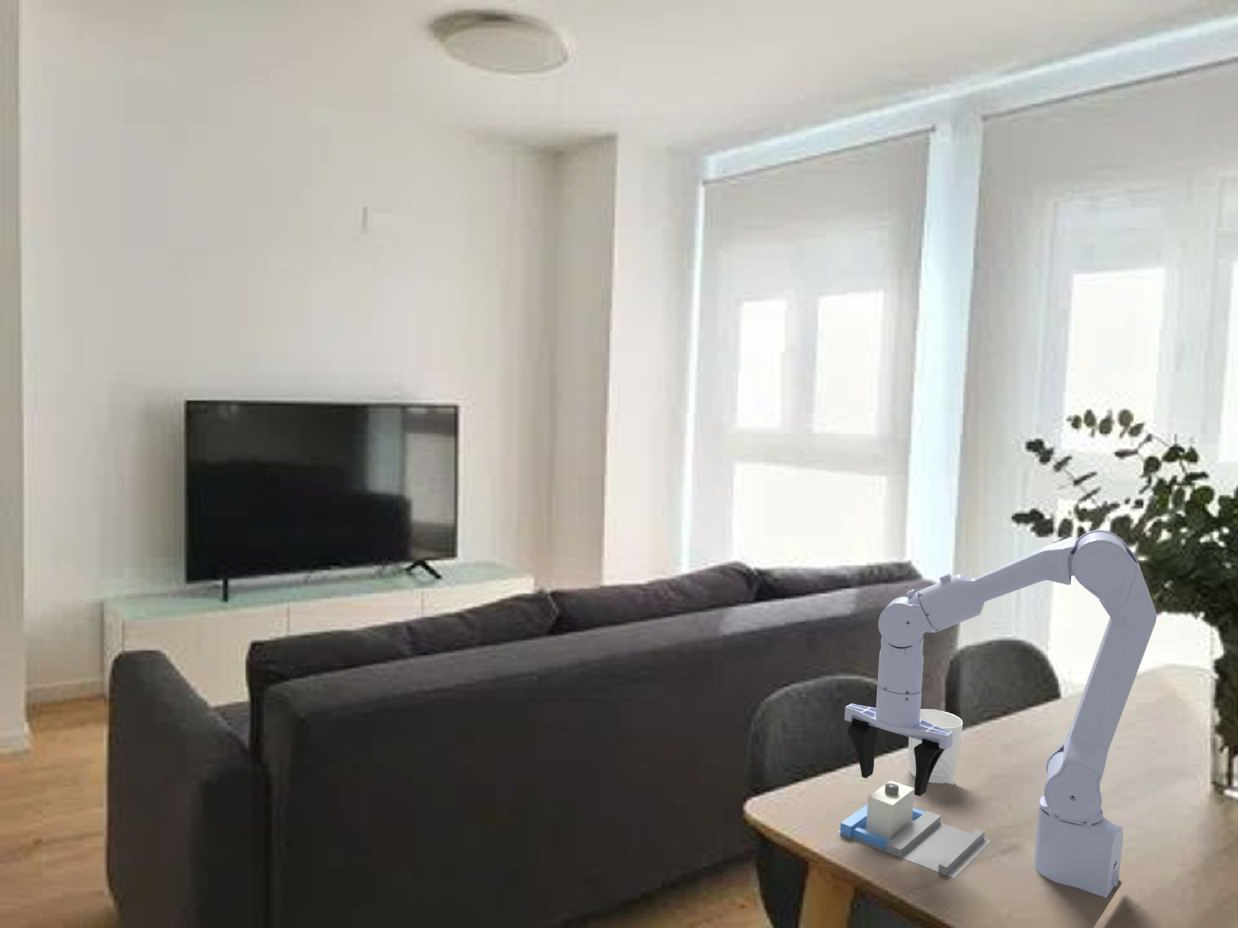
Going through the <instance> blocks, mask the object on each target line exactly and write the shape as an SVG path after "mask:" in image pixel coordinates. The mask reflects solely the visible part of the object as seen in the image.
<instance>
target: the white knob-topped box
mask: <svg viewBox="0 0 1238 928" xmlns="http://www.w3.org/2000/svg"><path fill="white" fill-rule="evenodd" d="M914 799H915V787H911V786H909V785H905V784H902V783H899V782H897V781H894V780H889V781H887V782H886V783H885V784H883V785H882V786H881V787H879V788H878V789H876V790H875V791H873V792H872V793H870V795H868V796H867V804H868V805H867V804H866V805H867V820H866V830H867V831H869V832H872V833H874V834H877V835H880V836H882V837H885V838H888V839H890V840H892V839H893V838H894V837H895V836H897V835H898V834H899V833H900V832H902V831H903V830H904V829H905V828H907V827H908V826H909V825H910V824H911V823H912V815H913V808H914V801H915V800H914Z"/></svg>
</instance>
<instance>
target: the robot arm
mask: <svg viewBox="0 0 1238 928" xmlns="http://www.w3.org/2000/svg"><path fill="white" fill-rule="evenodd" d="M1072 576H1074V578H1075V580H1076V581H1077V583H1078V584H1080V585H1081V586H1082V587H1083V588H1084V589H1085V590H1087V591H1088V592H1089V593H1091V594H1092V595H1094V596H1095V597H1096V598H1097V599H1098V600H1099V602H1100V604H1101V605H1102V607H1103V608H1104V611H1106V613H1107V614H1108V616H1109V619H1108V623H1107V624H1106V628H1105V631H1104V634H1103V636H1102V639H1101V641H1100V644H1099V647H1098V650H1097V653H1096V655H1095V659H1094V661H1093V664H1092V666H1091V669H1090V673H1089V675H1088V678H1087V681H1086V684H1085V686H1084V689H1083V692H1082V694H1081V697H1080V700H1079V702H1078V706H1077V709H1076V711H1075V712H1074V717H1073V720H1072V722H1071V725H1070V727H1069V729H1068V731H1067V732H1066V734H1065V736H1064V739H1063V742H1062V744H1061V746H1059V748H1058V749H1056V750H1054V751H1053V752H1052V753H1051V754H1050V756H1049V757H1048V759H1047V762H1046V781H1045V782H1046V783H1045V784H1044V789H1043V794H1044V795H1043V796H1041V797H1040V798H1039V804H1038V815H1037V823H1036V824H1037V825H1036V827H1037V828H1036V837H1035V849H1034V859H1033V861H1034V862H1033V866H1034V869H1035V870H1036V871H1037V872H1038V874H1040V875H1041V876H1043V877H1045V878H1046V879H1048V880H1050V881H1052V882H1055V883H1058V884H1061V885H1063V886H1069V887H1073V888H1077V889H1080V890H1083V891H1086V892H1089V893H1091V894H1094V895H1097V896H1099V897H1103V898H1105V899H1106V898H1108V896H1109V895H1110V893H1111V892H1112V890H1114V888H1115V887H1116V886H1118V883H1119V879H1120V871H1121V863H1122V862H1121V861H1122V859H1121V858H1122V850H1123V849H1122V848H1123V840H1124V838H1123V837H1124V832H1123V827H1122V826H1121V825H1119V824H1117V823H1114V822H1112V821H1111V820H1108V819H1107V818H1106V817H1104V812H1103V809H1102V805H1103V804H1102V803H1103V798H1102V792H1101V783H1102V778H1103V776H1104V773H1105V767H1106V763H1107V757H1108V753H1109V749H1110V747H1111V744H1112V742H1113V739H1114V736H1115V734H1116V730H1117V728H1118V726H1119V722H1120V721H1121V717H1122V714H1123V712H1124V709H1125V707H1126V704H1127V701H1128V699H1129V696H1130V693H1131V690H1132V688H1133V685H1134V682H1135V679H1136V676H1137V674H1138V671H1139V669H1140V666H1141V664H1142V661H1143V658H1144V654H1145V652H1146V650H1147V647H1148V645H1149V642H1150V639H1151V636H1152V634H1153V631H1154V628H1155V625H1156V623H1157V618H1158V615H1157V611H1156V610H1157V609H1156V608H1155V604H1154V602H1153V599H1152V597H1151V594H1150V591H1149V588H1148V585H1147V582H1146V580H1145V578H1144V575H1143V572H1142V569H1141V566H1140V563H1139V561H1138V558H1137V557H1136V555H1135V554H1134V552H1133V551H1132V550H1131V549H1130V547H1129V546H1128V545H1127V544H1126V543H1125V541H1124V540H1123V539H1122V538H1121V537H1120V536H1118V535H1117V534H1116V533H1114V532H1112V531H1110V530H1109V531H1107V530H1105V529H1104V530H1103V529H1095V530H1089V531H1086V532H1085V533H1084V534H1082V535H1081V536H1080V537H1078V538H1077V540H1076V536H1073V537H1068V538H1065V539H1062V540H1059V541H1056V542H1054V543H1051V544H1048V545H1045V546H1043V547H1040V548H1038V549H1036V550H1033V551H1032V552H1030V553H1027V554H1026V555H1022V556H1021V557H1019V558H1016V559H1015V560H1013V561H1010V562H1008V563H1005V564H1003V565H1001V566H999V567H996V568H994V569H992V570H990V571H988V572H986V573H983V574H981V575H979V576H977V577H970V576H968V575H965V574H961V573H958V574H955V575H953V576H952V575H951V573H945V574H943V575H940V577H939V581H940V582H936V583H934V584H932V585H929V586H927V587H925V588H922V589H920V590H918V591H916V590H915V589H914V588H913V589H911V590H909V591H907V592H906V596H900V597H896V598H895V599H892V601H890V602H889V603H888V605H886V607H885V608H884V609H883V610H882V612H881V613H880V615H879V618H878V622H877V626H878V631H879V634H880V635H881V639H880V646H881V647H880V650H879V656H878V657H879V658H878V671H877V672H878V673H877V687H876V688H877V689H876V704H875V707H872V706H865V705H861V704H855V703H850V704H848V705H846V706H845V707H844V721H847V722H851V724H850V725H849V726H848V727H847V733H848V735H849V738H850V740H851V743H852V744H853V747H854V748H855V749H854V750H855V752H856V755H857V760H858V762H859V767H860V774H861V778H864V779H868V778H869V777H871V776H872V775H873V774H874V769H875V751H876V745H877V740H878V739H877V738H878V732H879V729H881V730H885V731H888V732H892V733H894V734H898V735H901V736H905V737H908V738H909V737H911V738H914V739H918V740H921V741H922V743H921V744H918V745H917V746H915V747H914V754H915V762H916V777H915V780H914V796H917V797H922V796H923V795H924V794H925V793H927V788H928V785H929V783H930V782H929V779H930V776H931V773H932V771H933V769H934V767H935V765H936V763H937V761H938V759H939V758H940V756H941V754H942V753H943V751H944V750H947V749H948V748H950V747H951V746H952V740H953V732H952V731H948V730H945V729H943V728H940V727H938V726H936V725H933V724H931V723H929V722H927V721H925V720H922V719H920V709H922V706H921V705H922V691H923V690H922V689H923V688H922V687H923V678H924V677H923V674H924V661H925V657H924V634H925V633H937V632H940V631H942V630H945V629H947V628H950V627H952V626H955V625H957V624H960V623H962V622H965V621H968V620H970V619H972V618H975V617H978V616H980V615H981V614H982V611H983V608H984V605H985V603H986V602H988V601H990V600H994V599H996V598H998V597H1002V596H1005V595H1007V594H1010V593H1013V592H1015V591H1018V590H1021V589H1023V588H1026V587H1030V586H1032V585H1035V584H1038V583H1041V582H1044V581H1050V582H1052V583H1053V582H1054V583H1058V584H1063V585H1068V586H1071V584H1072Z"/></svg>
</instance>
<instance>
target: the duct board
mask: <svg viewBox="0 0 1238 928" xmlns="http://www.w3.org/2000/svg"><path fill="white" fill-rule="evenodd" d="M867 805H868V803H866V805H864V806H862V807H861V808H860V809H858V810H857V811H855V812H854V813H853V814H851V815H850V816H849V817H847V818H845V819H844V820H843V821H841V822H840V827H839V828H840V829H839V830H838V831H836V833H837V834H839V835H841V836H845V837H847V838H850V839H852V840H855V841H857V842H860V843H862V844H865V845H866V846H867V845H868V846H870V847H872V848H875V849H878V850H879V851H883V852H885V853H888V854H890V855H893V856H896V857H898V858H901V859H903V860H906V861H909V862H911V863H912V864H915V865H919V866H921V867H923V868H926V869H929V870H931V871H934V872H937V873H938V874H941V875H944V876H947V877H949V878H952V879H956V877H957V876H958V875H959V874H960V873H961V872H962V871H963V870H965V868H967V867H968V866H969V865H970V863H971V862H973V861H974V859H975V858H977V856H978V855H980V853H982V852H983V850H984V849H986V848H987V847H988V846H989V845H990V844H991V843H992V840H991V839H987V838H985V834H986V831H984V830H982V829H980V828H976V829H975V830H974V831H973V832H972V833H971V832H968V831H965V830H962V829H959V828H956V827H953V826H951V825H948V824H946V823H943V822H942V821H941V819H942V815H940V814H937V813H934V812H931V811H928V810H926V811H923V810H920V809H918V808H915V807H913V815H912V823H911V824H910V825H909V826H908V827H907V828H905V829H904V830H903V831H902V832H900V833H899V834H898V835H897V836H895V837H894V838H893V839H892V840H890V839H888V838H885V837H882V836H880V835H877V834H874V833H872V832H869V831H867V830H866V820H867Z"/></svg>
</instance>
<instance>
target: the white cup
mask: <svg viewBox="0 0 1238 928" xmlns="http://www.w3.org/2000/svg"><path fill="white" fill-rule="evenodd" d="M920 719H922V720H925V721H927V722H929V723H931V724H933V725H936V726H938V727H940V728H943V729H945V730H948V731H952V732H953V740H952V746H951V747H950V748H948V749H947V750H944V751H943V753H942V754H941V756H940V758H939V759H938V761H937V763H936V765H935V767H934V769H933V771H932V773H931V776H930V779H929V782H928V783H932V784H941V785H942V784H949V785H951V786H954V784H955V776H956V770H957V768H958V761H959V756H960V755H959V754H960V750H961V740H962V733H963V724H964V723H963V722H964V721H963V720H962V719H961V718H960V717H959V716H957V715H955V714H953V713H950V712H947V711H943V710H939V709H929V708H920ZM921 743H922V741H921V740H918V739H914V738H911V737H908V760H909V761H908V764H909V766H908V772H909V774H911V776H912V777H915V778H916V762H915V754H914V747H915V746H917V745H918V744H921Z"/></svg>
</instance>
